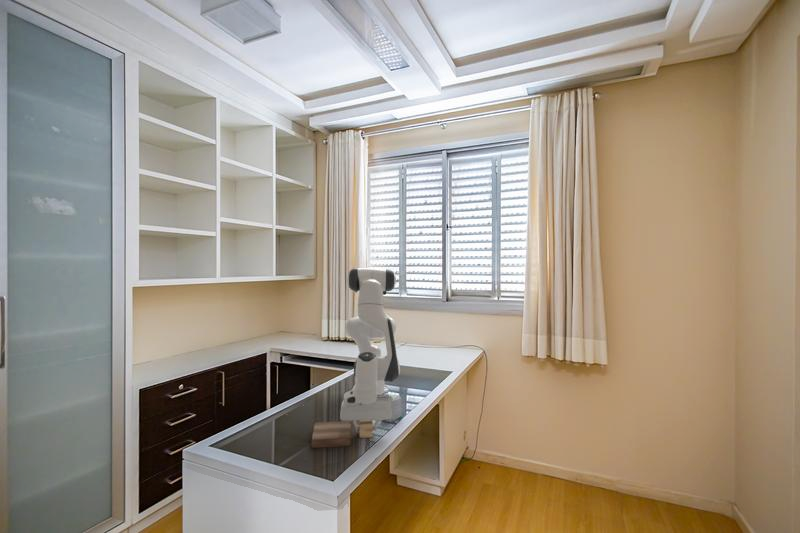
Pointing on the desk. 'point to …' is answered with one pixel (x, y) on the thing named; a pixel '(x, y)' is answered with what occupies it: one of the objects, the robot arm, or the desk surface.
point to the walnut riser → (331, 434)
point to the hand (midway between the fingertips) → (365, 430)
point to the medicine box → (395, 408)
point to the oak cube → (366, 428)
